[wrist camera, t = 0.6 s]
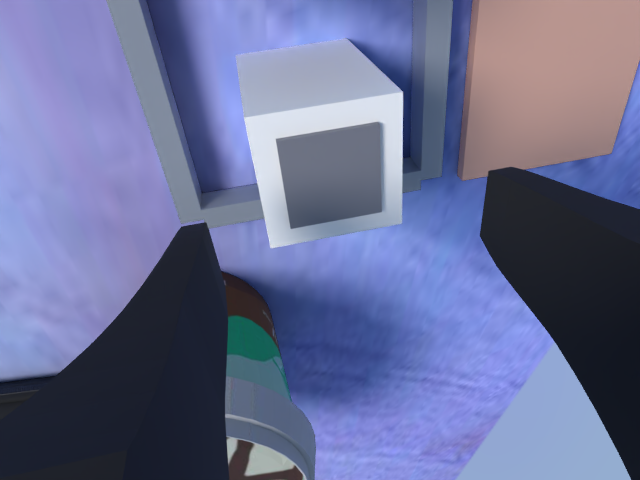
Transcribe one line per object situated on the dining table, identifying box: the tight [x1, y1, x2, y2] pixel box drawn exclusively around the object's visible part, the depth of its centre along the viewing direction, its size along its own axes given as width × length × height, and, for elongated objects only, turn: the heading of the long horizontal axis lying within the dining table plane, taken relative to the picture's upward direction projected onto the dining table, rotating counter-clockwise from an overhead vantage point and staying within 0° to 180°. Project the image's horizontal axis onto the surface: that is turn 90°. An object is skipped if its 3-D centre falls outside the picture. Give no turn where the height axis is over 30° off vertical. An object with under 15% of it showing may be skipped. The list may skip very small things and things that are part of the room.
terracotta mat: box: [457, 0, 640, 181], centre depth 20 cm, size 8×10×1 cm
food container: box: [221, 271, 316, 480], centre depth 22 cm, size 12×6×10 cm, turn 6°
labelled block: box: [236, 38, 403, 248], centre depth 17 cm, size 4×4×7 cm
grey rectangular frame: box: [106, 0, 453, 229], centre depth 17 cm, size 12×17×2 cm
